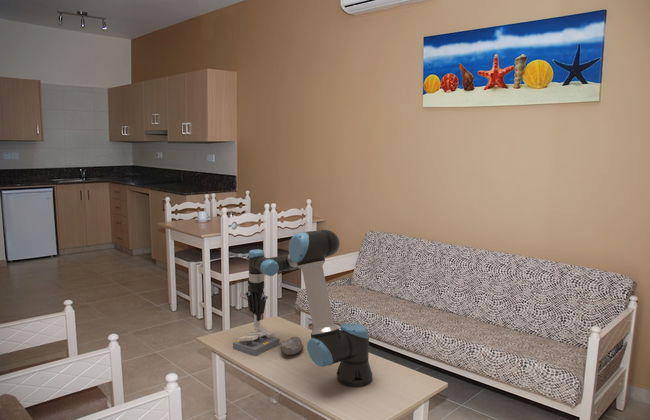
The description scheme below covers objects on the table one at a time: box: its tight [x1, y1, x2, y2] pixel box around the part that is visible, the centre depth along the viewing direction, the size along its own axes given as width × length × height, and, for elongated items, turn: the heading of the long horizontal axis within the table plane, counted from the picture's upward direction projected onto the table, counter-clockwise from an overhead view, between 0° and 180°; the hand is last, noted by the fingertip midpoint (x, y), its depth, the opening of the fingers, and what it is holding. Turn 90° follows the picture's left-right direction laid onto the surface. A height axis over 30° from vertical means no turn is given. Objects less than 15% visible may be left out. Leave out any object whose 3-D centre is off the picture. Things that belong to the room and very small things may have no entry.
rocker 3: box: [253, 325, 275, 337], centre depth 246 cm, size 10×4×2 cm, turn 54°
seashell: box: [280, 336, 304, 356], centre depth 235 cm, size 9×12×15 cm
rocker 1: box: [237, 335, 258, 341], centre depth 237 cm, size 10×4×2 cm, turn 54°
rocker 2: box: [245, 331, 266, 337], centre depth 242 cm, size 10×4×2 cm, turn 54°
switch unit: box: [232, 335, 280, 357], centre depth 242 cm, size 15×17×5 cm
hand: (256, 326), depth 249 cm, fingers closed
